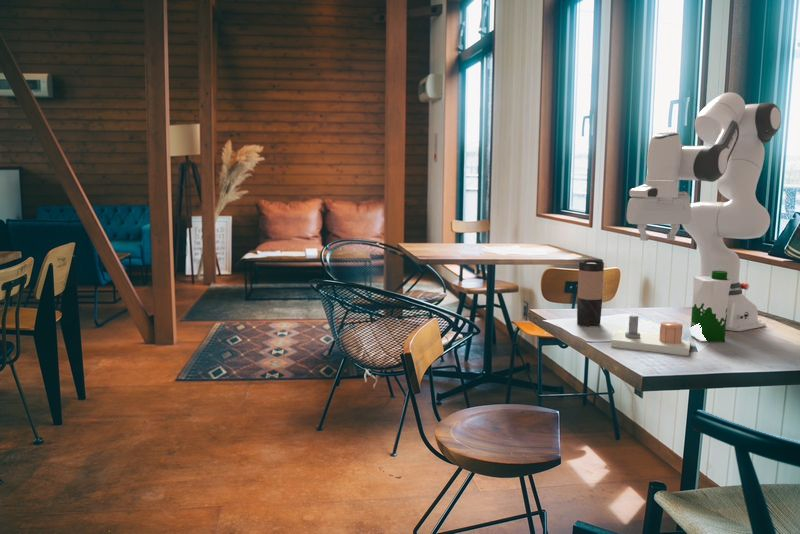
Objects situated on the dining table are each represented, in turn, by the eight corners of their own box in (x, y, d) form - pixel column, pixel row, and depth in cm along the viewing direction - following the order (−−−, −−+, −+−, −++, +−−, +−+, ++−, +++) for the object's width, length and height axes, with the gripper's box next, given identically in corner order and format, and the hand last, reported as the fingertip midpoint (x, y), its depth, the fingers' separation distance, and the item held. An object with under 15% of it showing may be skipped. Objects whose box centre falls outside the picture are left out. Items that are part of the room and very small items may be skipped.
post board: (690, 345, 192) (692, 317, 190) (688, 355, 181) (690, 326, 180) (616, 337, 200) (618, 310, 199) (610, 346, 189) (612, 318, 188)
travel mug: (602, 327, 212) (605, 264, 209) (576, 326, 213) (579, 263, 210) (599, 321, 219) (603, 260, 216) (575, 320, 221) (578, 260, 218)
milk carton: (729, 343, 194) (735, 274, 191) (697, 342, 194) (702, 273, 191) (716, 335, 203) (721, 269, 200) (685, 335, 203) (690, 269, 200)
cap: (671, 337, 192) (672, 321, 191) (685, 342, 186) (687, 325, 186) (655, 339, 190) (656, 322, 189) (669, 344, 185) (670, 327, 184)
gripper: (682, 191, 197) (678, 238, 199) (624, 190, 189) (621, 239, 191) (698, 191, 191) (694, 240, 193) (640, 191, 184) (636, 241, 185)
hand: (657, 240), depth 192 cm, fingers open, 8 cm apart
